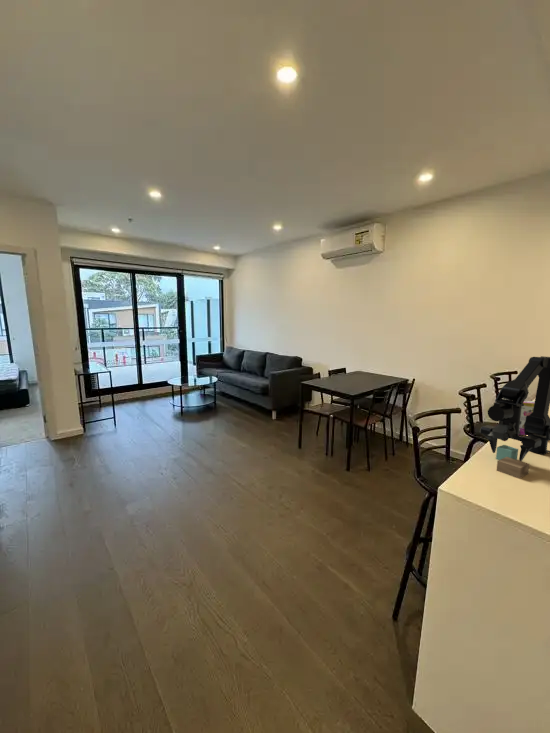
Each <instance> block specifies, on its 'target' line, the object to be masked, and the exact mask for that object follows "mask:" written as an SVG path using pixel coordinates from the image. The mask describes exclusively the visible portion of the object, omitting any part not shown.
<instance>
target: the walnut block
mask: <svg viewBox="0 0 550 733" xmlns="http://www.w3.org/2000/svg"><path fill="white" fill-rule="evenodd" d="M529 470H530V463H528V462H525V461H523V460H522V461H519V459H517V460H516V459H512V458H509V457H505V458H503V459H500V460H497V464H496V472H500V473H502V474H504V475H507V476H511V477H513V478H517V479H521V478H523V477H526V476H528V474H529Z"/></svg>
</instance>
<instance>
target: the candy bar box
mask: <svg viewBox="0 0 550 733" xmlns="http://www.w3.org/2000/svg"><path fill="white" fill-rule="evenodd" d="M534 403H535V400H525V401H524V402H523V404H524V406H522V408H521V417H520V421H522V422H521V424H520V427H519V431H520V434H519V436H521V435H525V431H524V423H525V421H526V416H527V415H528V416H529V415H530V414H531V413H532V412H533V408H534Z"/></svg>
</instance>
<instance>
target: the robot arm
mask: <svg viewBox="0 0 550 733" xmlns="http://www.w3.org/2000/svg"><path fill="white" fill-rule="evenodd" d="M537 377H538V382H537V387H536V392H535V397H534V401H535V403H534V408H533V412H532V413H531V414H530V415H529V416H528V415H527V416H526V421H525V423H524V431H525V435H528V436H521V435H519V434H520V431H519V427H520V424H521V422H522V421H520V417H521V408H522V406H524V404H523V402H524V401H526V400H527V398H528V395H529V387H530V386H531V384H532V383H533V382H534V380H535V379H536V378H537ZM549 410H550V356H541V355H540V356H530V357H529V359H528V363H526V365H525V366H524V367H523V368H522V370H521V371H520V373H519V374H518V375H517V376H516V378H515V379H512V380H510V381H508V382H506V384H504V385H503V386H502V387H501V388H500V389H499V392H498V394H497V396H496V398H495V399H494V403H493V405H491V406H490V407H489V408H488V410H487V416H488V417H489V418H490V420H492V421H494V422H499V423H498V425H496V426H495V425H491V424H487V425H482V426H481V427H480V429H479V434H482V436H483V437H485V438H486V439H487V440H488V442H489V445H490V448H491V452H492V453H493V454H495V453H496V452H497V447H498V446H497V445H498V440H501V441H502V442H507V441H508V440H509V439H511V440H513V441H518V442H521V444H520V452H519V458H518V460H519V461H522V462H523V460H524V459H525V457H526V456H527V454H528V453H529V452H532V453H536V454H539V455H542V456H545V455H546V453H547V454H549V453H550V450H548V442H549V441H550V415H549ZM548 452H549V453H548Z"/></svg>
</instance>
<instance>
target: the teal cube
mask: <svg viewBox="0 0 550 733" xmlns="http://www.w3.org/2000/svg"><path fill="white" fill-rule="evenodd" d="M518 454H519V448H516V447H513V446H509V445H506V444H501V445H499V446H497V447H496V454H495V456H496V457H495V459H496V460H497V461H498V460H500V459H503V458H505V457H509V458H512V459H516V460H518Z"/></svg>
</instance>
